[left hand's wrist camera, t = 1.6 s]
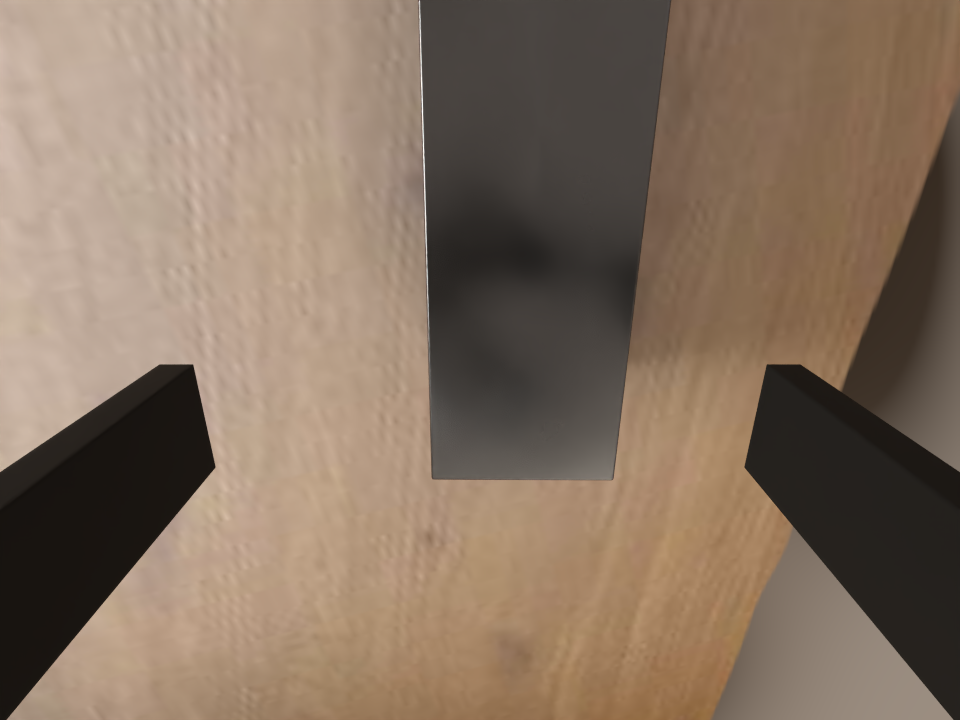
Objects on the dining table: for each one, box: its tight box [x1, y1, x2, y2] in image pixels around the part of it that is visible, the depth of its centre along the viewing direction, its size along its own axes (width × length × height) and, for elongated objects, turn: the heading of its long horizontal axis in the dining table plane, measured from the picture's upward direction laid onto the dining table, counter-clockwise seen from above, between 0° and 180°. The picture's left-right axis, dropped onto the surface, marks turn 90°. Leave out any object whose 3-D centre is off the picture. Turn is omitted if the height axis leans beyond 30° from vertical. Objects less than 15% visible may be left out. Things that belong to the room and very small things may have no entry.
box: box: [418, 0, 671, 480], centre depth 18 cm, size 22×6×10 cm, turn 179°
